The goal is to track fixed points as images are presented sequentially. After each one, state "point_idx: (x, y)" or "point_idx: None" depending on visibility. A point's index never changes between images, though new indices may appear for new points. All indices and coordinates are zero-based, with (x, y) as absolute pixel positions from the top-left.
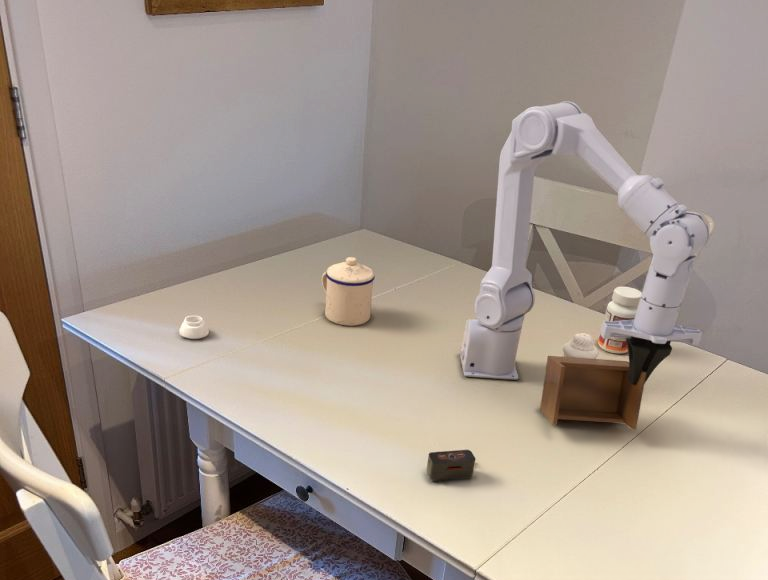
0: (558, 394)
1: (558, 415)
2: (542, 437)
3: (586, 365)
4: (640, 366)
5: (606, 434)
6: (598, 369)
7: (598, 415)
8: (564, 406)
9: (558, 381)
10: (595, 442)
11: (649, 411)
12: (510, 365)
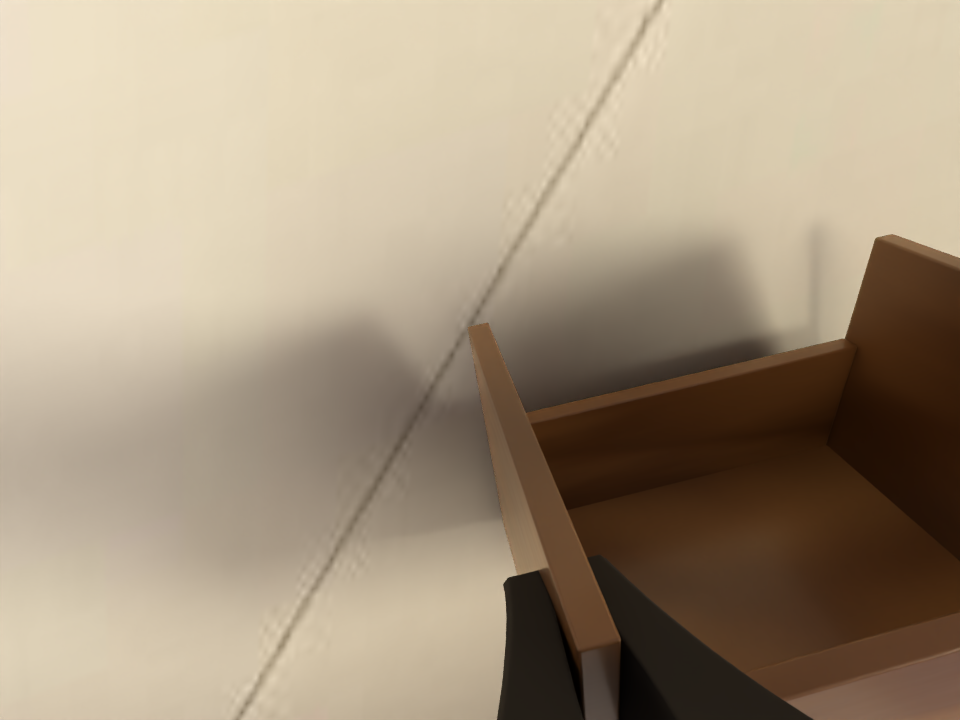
0: None
1: (826, 353)
2: (847, 236)
3: None
4: (688, 700)
5: (566, 357)
6: None
7: (625, 438)
8: (755, 473)
9: None
10: (623, 271)
11: (359, 610)
12: None
